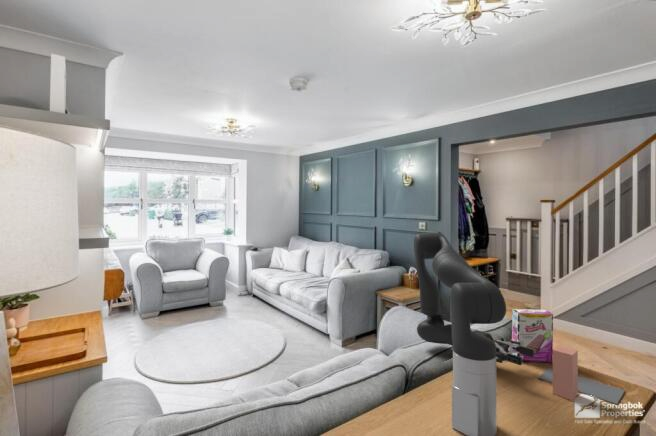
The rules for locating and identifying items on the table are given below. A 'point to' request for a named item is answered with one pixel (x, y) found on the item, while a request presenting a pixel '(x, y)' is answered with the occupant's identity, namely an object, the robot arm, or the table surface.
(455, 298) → the robot arm
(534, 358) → the candy bar box
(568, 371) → the block
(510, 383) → the table surface
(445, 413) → the table surface
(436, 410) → the table surface
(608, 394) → the mat
